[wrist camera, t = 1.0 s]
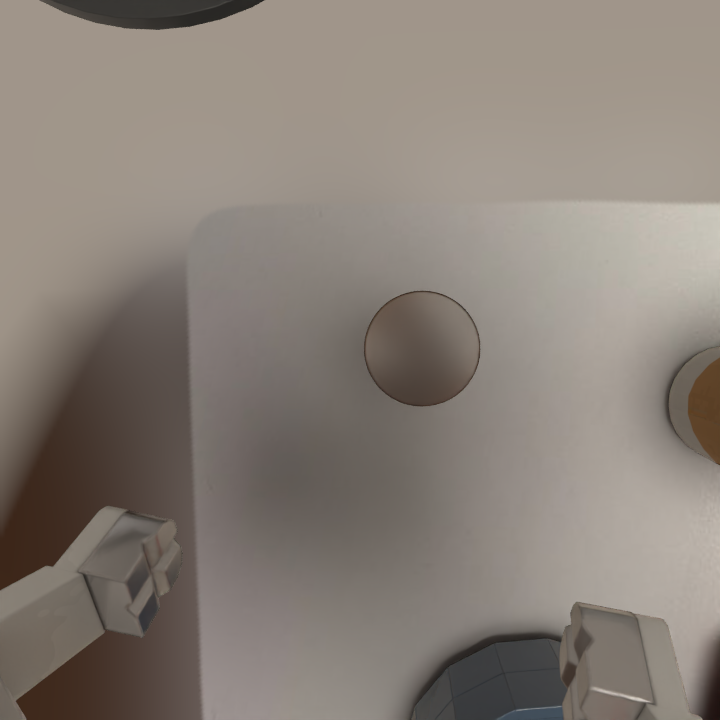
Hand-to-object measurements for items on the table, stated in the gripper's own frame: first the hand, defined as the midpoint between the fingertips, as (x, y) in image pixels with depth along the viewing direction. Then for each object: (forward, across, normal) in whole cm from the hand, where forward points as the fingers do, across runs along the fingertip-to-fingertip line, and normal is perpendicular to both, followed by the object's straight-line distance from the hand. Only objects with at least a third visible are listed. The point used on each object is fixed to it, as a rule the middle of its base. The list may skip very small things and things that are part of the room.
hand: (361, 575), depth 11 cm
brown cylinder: (+21, +2, +7) cm, 22 cm away
